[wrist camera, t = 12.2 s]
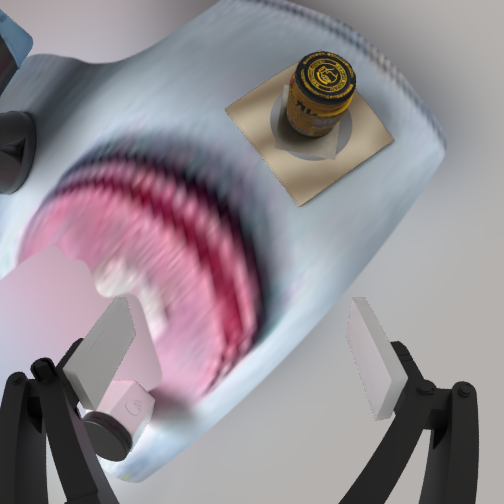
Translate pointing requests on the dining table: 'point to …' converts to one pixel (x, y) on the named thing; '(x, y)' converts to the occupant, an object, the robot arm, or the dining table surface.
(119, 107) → the dining table surface
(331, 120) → the condiment
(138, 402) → the jar
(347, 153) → the board
